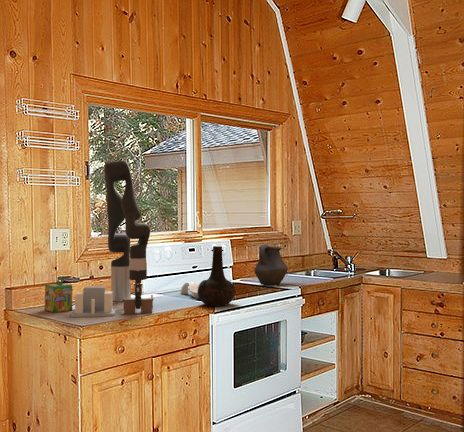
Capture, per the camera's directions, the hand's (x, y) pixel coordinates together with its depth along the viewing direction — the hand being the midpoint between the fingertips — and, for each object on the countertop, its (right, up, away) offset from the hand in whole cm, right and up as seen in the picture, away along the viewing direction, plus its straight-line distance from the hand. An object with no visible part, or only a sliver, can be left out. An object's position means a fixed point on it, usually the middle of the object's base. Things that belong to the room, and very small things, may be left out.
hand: (138, 308), depth 246 cm
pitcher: (+64, -2, +97) cm, 116 cm away
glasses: (-1, -2, +6) cm, 6 cm away
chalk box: (-37, -2, +7) cm, 37 cm away
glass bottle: (+34, -2, +21) cm, 40 cm away
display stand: (-19, -2, -2) cm, 19 cm away
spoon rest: (+22, -3, +50) cm, 55 cm away
